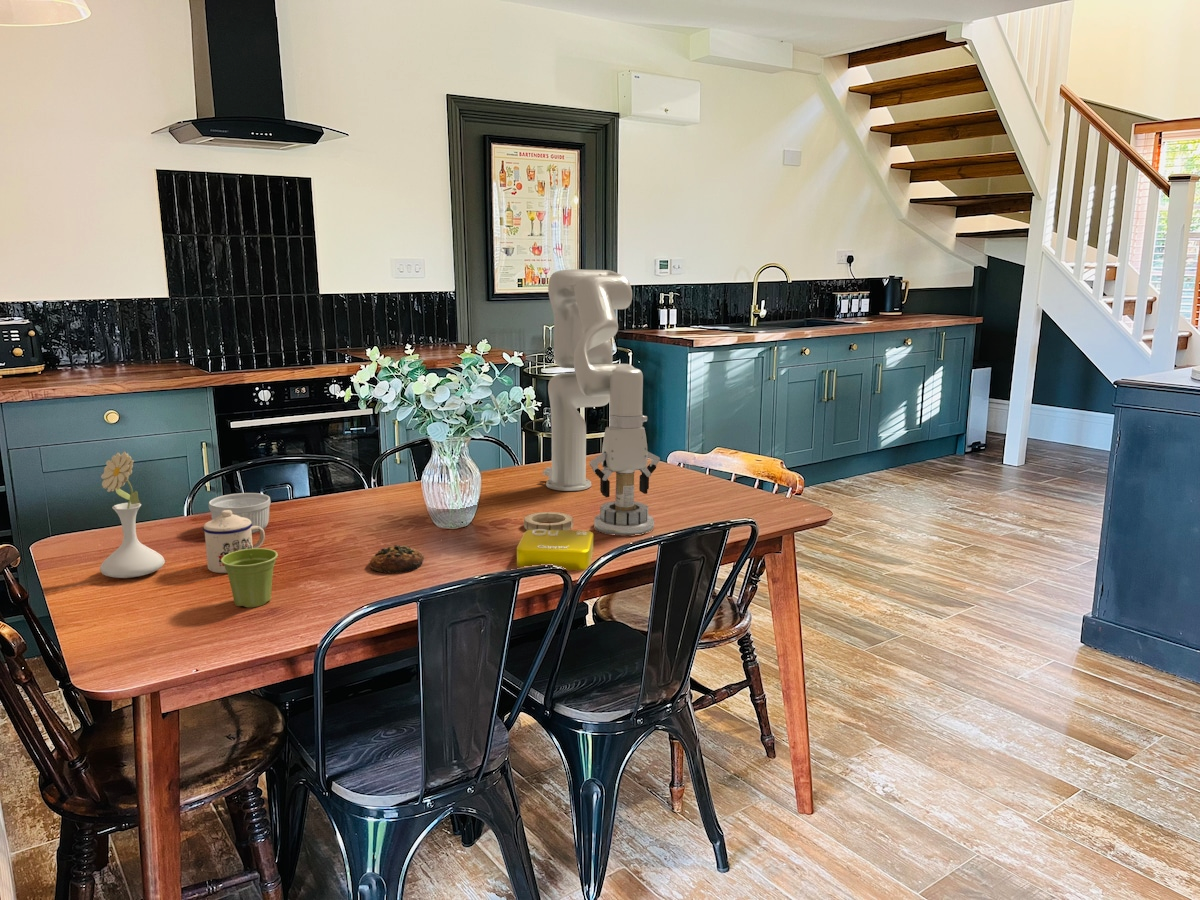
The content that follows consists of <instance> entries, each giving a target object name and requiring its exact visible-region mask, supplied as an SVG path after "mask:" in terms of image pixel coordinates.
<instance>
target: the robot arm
mask: <svg viewBox="0 0 1200 900" xmlns="http://www.w3.org/2000/svg"><path fill="white" fill-rule="evenodd" d="M548 279H549V280H548V287H547V288H548V289H547V290H548V297H549V302H550V305H551V309H552V313H553V321H554V323H553V332H554V333H553V353H554V355H553V356H554V362H555V363H556V365H557V366H558V367H560V368H563V369H574V372H566V373H565V372H564V373H559V374H556V375H553V376H552V377H551V378H550V379H549V381H548V384H547V392H548V398H549V405H550V416H551V417H550V418H551V420H550V421H551V467H549V466H547V467H545V469H544V470H543V471H542V475H544V476H548V479H547V481H546V482H545V485H546V487H547V488H548V489H551V490H554V491H563V492H577V491H583V490H587V489H589V488H591V487H592V481H591V480H590V479H588V478H586V476H587V423H586V420H585V419H584V417H583V416H582V415H581V414H580V412H579V410H578V409H582V408H594V407H595V408H596V407H597V408H598V407H604V406H606V405H608V404H609V420H608V421H609V426H606V427H605V430H604V435H603V440H602V441H603V442H602V446H601V447H602V448H601V454H599V455H597V456H596V457H595V458H593V459H591V460H590V461H589V465H590V467H591V469H592V472H593V473H594V474H595V475H596V476H597V477H598V478H599V480H600V482H599V485H600V487H599V490H600V494H601V495H602V496H603V497H605V498H609V497H610V488H611V486H610V485H611V484H610V483H611V482H610V480H609V478H610V476H611V475H612V474H613V473H616V472H621V471H625V470H635V471H639V472H640V473H641V474H640V475H639V486H638V487H639V489H638V490H639V492H641V493H643V494H644V495H647V494H648V490H649V489H650V477H651V476H652V474H653V473H654V471H655V470H656V469H657V466H658V464H659V462H660V460H661V458H660V456H657V455H656V454H653V453H652V452H650V451H648V443H647V435H646V430H645V429H646V428H645V427H644V426H643V425H644V423H645V422H648V416H647V415H644V414H643V400H644V399H643V395H644V394H643V390H644V389H643V388H644V375H643V372H642V370H641V369H639V368H636V367H634V366H633V365H631V364H629V363H613V360H614V359H613V354H614V353H613V345H612V342H611V339H613V338H614V337H615V336H616V335H617V333H618V331H619V323H618V319H617V315H616V312H615V310H626V309H628V308H629V307H630V305H631V304H632V300H633V289H632V286H631V283H630V281H629V280H628V279H627V277H626V276H625V275H623V274H620V273H618V272H615V271H613V270H610V269H609V270H608V269H578V268H577V269H561V270H557V271H554V272H553V273H552V274H551V275H550V277H549V278H548ZM648 458H649V459H651V460H650V461H651V462H650V463H649V464H648ZM600 463H601V467H602V469H600V468H599V464H600Z"/></svg>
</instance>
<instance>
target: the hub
mask: <svg viewBox="0 0 1200 900" xmlns="http://www.w3.org/2000/svg"><path fill="white" fill-rule="evenodd" d="M615 507H616V505H615V501H608V502H605V503H602V504H601V506H600V513H599V514H598V515H596V516H595V517H594V524H593V525H594V526H593V527H595V528H594V529H596V530H595V531H597V532H598V531H599V532H598V533H600V532H603V533H606V534H605V535H607V534H615V535H635V534H642V533H646V532H649V531H651V530H652V529H653V528H654V529H655V518H654V517H653V516H652V515H649V506H648V505H646V504H645V503H642V502H638V501H634V506H633V511H618V510H615ZM654 529H653V530H654ZM603 533H602V534H603Z"/></svg>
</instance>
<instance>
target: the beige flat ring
mask: <svg viewBox="0 0 1200 900" xmlns="http://www.w3.org/2000/svg"><path fill="white" fill-rule="evenodd" d="M573 527H574V518H573V516H571V515H570V514H568V513H563V512H558V511H541V512H535V513H530V514H527V515H526V516H525V517H524V518H523V528H524V529H525V530H526V531H527V530H530V529H545V530H572V528H573Z"/></svg>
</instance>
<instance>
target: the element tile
mask: <svg viewBox="0 0 1200 900" xmlns="http://www.w3.org/2000/svg"><path fill="white" fill-rule="evenodd" d="M593 554H594V533H593V532H591V530H572V529H570V530H545V529H530V530H526V531H524V532H523V535H522V537H521V539H520V540H519V543H518V545H517V546H516V567H517V568H519V567H524V566H532V565H541V564H553V565H558V566H562V567H564V568H566V569H567V570H566V571H585V569H586V568H587V567H588V566H589V565H590V566H591V563H592V559H591V558H592V557H593ZM586 570H587V569H586Z"/></svg>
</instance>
